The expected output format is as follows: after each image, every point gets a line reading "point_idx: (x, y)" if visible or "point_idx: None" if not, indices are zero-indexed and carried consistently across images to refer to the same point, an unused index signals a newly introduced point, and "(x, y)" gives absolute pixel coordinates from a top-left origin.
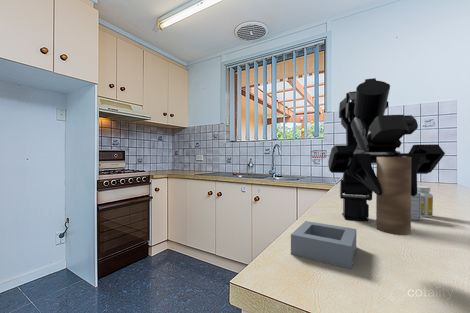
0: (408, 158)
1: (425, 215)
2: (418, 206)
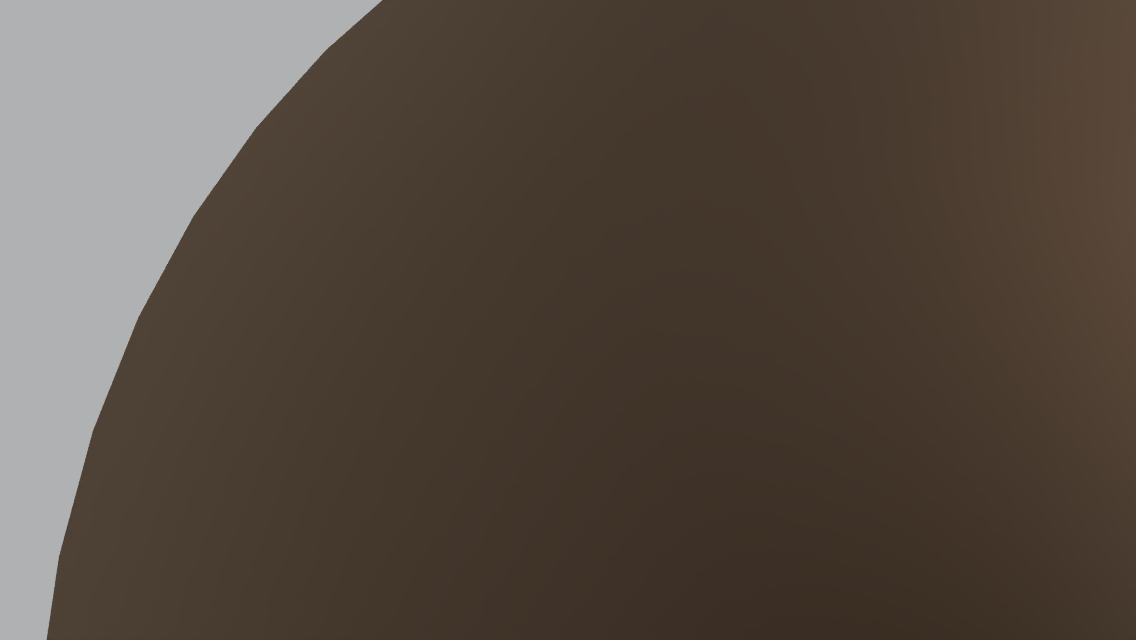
0: (423, 10)
1: None
2: None
